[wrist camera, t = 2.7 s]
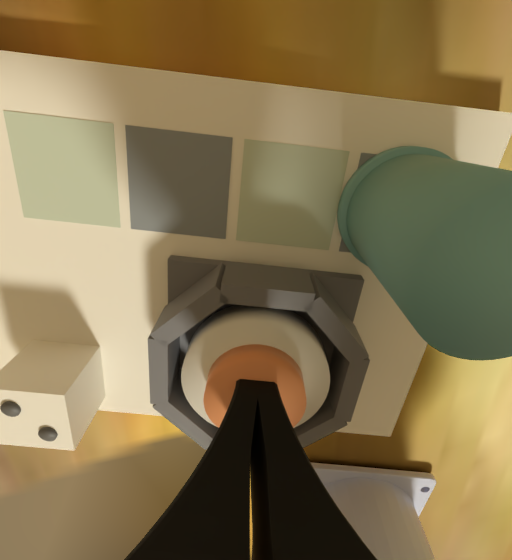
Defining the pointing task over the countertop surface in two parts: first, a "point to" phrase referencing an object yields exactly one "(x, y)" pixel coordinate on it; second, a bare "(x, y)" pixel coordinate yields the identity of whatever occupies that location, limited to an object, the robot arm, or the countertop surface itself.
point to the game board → (192, 237)
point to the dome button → (255, 361)
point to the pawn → (437, 245)
